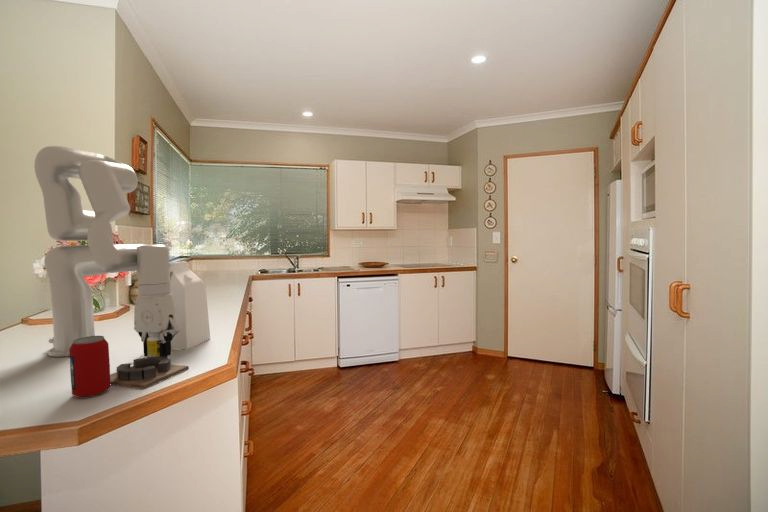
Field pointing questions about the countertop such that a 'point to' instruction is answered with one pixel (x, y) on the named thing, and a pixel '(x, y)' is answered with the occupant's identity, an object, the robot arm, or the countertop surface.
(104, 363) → the beverage can
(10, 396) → the countertop surface
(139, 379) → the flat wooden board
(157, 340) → the supplement bottle
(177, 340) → the milk
